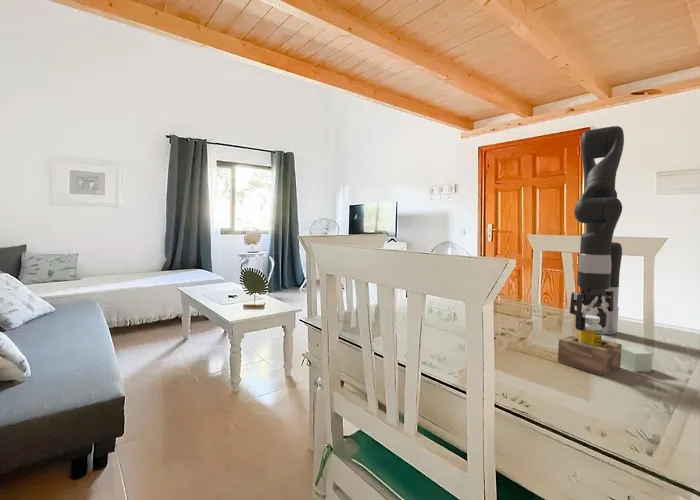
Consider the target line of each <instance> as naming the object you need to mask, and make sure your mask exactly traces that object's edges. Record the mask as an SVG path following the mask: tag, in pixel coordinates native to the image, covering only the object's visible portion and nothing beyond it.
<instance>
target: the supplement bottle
mask: <svg viewBox="0 0 700 500" xmlns="http://www.w3.org/2000/svg"><path fill="white" fill-rule="evenodd" d="M585 318H586V322H585V330H584V331H581V330H578V334H579V341H578V342H580V343H584V344H587V345H591V346H595V347H598V346H601V342H602V340H603V339H602V338H603V337H602V336H603V334H602V326H601V325H599V324H598V323H599V322H600V317H597V316H592V315H587V314H586V316H585Z"/></svg>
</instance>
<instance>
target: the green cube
mask: <svg viewBox="0 0 700 500" xmlns="http://www.w3.org/2000/svg"><path fill="white" fill-rule="evenodd" d="M653 354H654V353H652V352H650V351H648V350H646V349H645V350H644V349H641V348H639V347H638V346H637V347H636V346H631V347H630V346H628V347H623V346H622V347H621V362H620V367H623V368H625V369H627V370H629V369H630V370H629V371H632V372H634V371H645V372H652V370H653V369H652V366H653Z"/></svg>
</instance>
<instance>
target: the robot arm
mask: <svg viewBox="0 0 700 500" xmlns="http://www.w3.org/2000/svg"><path fill="white" fill-rule="evenodd" d="M580 140H581V141H580V147H581V159H582V167H583V177H584V178H583V179H584V180H583V181H584V185H583V187H584V191H583V193H582V195H581V196H580V198H579V199H578V200H577V202H576V204H575V207H574V211H573V213H574V218H575V220H577V222H579V223H581V224H585V230H586V231H585V232H584V233H582V235H581V236H580V247H579V258H578V264H577V265H578V266H577V267H578V268H577V281H576V283H577V287H579V288H580V290H579V291H580V292H575V291H573V292H571V294H570V305H569V306H570V307H569V314H570V315H573V316H575V324H574V326H575V329H576V330H577V331H579V330H581V331H584V330H585V322H586V318H585V316H586V315H592V316H597V317H600V322H599V323H598V324H599V325H601V326H602V335H615V334H617V332H618V324H619V322H618V321H619V293H620V292H619V290H620V274H621V273H620V272H621V271H620V270H621V264H622V258H623V257H622V256H623V248H622V244H621V243H619V242H615V241H614V242H613V237H614V232H615V229H616V227H617V224H618V222H619V219H620V217H621V214H622V213H623V203H622V202H621V200H620V199H619V198H618V193H617V190H616V177H617V171H618V168H619V165H620V162H621V158H622V154H623V151H624V147H625V146H624V145H625V143H624V142H625V134H624V130H623V128H622V127H621V126H618V125H616V126H615V125H614V126H607V127H599V128H593V129H587V130H585V131H584V132H583V133H582V134H581V139H580ZM601 158H603V159H601ZM595 159H601V160H600V161H599V162H598V163H596V162H595ZM575 307H576V309H575Z"/></svg>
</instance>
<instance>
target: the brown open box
mask: <svg viewBox="0 0 700 500" xmlns="http://www.w3.org/2000/svg"><path fill="white" fill-rule="evenodd" d="M578 341H579V333H577V334H573V335H570V336H566V337H563V338H559V339H558V349H557V351H558V352H557V362H558V363H560V364H562V365H567V366H570V367H573V368H577V369H580V370H583V371H585V372H589V373H590V374H591V373H592V374H595V375H598V376H603V375H605V374H608V373H611V372H612V371H615V370H617V369H620V368H621V366H620V362H621V347H623V346H622V344H621V343H618V342H614V341H609V340H605V339H602V342H601V346H598V347H595V346H591V345H587V344H584V343H580V342H578Z"/></svg>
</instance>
